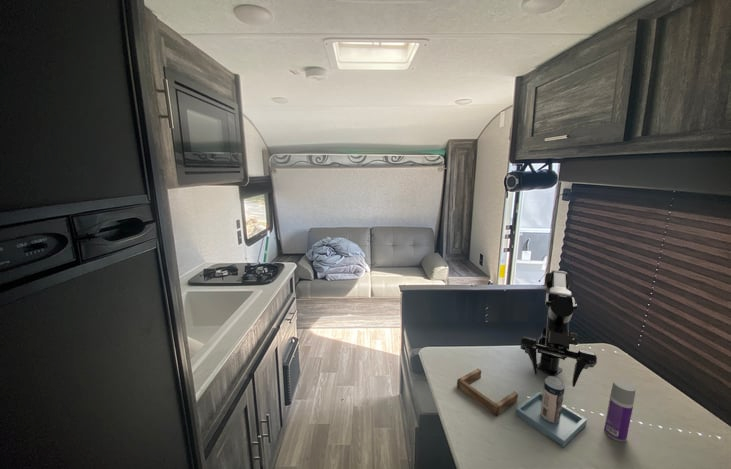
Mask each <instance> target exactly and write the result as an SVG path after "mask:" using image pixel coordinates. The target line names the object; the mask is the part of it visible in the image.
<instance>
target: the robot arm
mask: <svg viewBox="0 0 731 469" xmlns="http://www.w3.org/2000/svg"><path fill="white" fill-rule="evenodd" d="M544 276H545V277H544V281H543V282H544V283H543V284H544V286H545V292H546V295H545V301H544V302H545V303H544V304H545V307H547V308H548V312H547V319H546V327H544V328H543V330H542V332H541V336H539V337H538V340H537V338H534V337H530V336H529V337H528V336H525V335H523V336H522V337H521V340H520V350H523V351H524V353H525V354H527V355H528V357H529V359H530V361H531V366H532V368H533V369H532V370H533V373H534V376H536V377H537V374H538V369H539V370H540V371H542V372H545V373H546V374H548V375H549V376H555V377H556V375H558V374H559V373H561V372H563V368H561V367H559V366H560V360H563V361H566V359H572V360H576V362H575V364H574V369H573V375H572V381H571V382H572V387H573V388H574V387H576V384H577V382H578V380H579V377H580V376H581V373H582V371H583V370H584V369H585V370H588V369H589V368H594V367H595V366H596V365H597V362H598V361H597V359H598V358H597V355H596V354H595V353H594V352H590V351H587V350H583V349H579V350H578V351H577V352H576V351H571V350H570V345H573V346H578V339H579V338H578V337H579V334H578V333H575V332H574V333H573V332H569V327H570V326H569V325H570V322H571V319H572V316H573V313H574V311H575V310H577V309H578V304H577V301H576V300H575V297H573V293H572V291H571V290H570V289H571V288H570V287H571V281H572V280H571V277H570V276H569V275H568V271H567V272H566V271H563V270H556V269H555V270H551V272H548V273H546V274H545V275H544ZM537 354H540V360H539V363H537V362H538V360H537V356H538V355H537Z"/></svg>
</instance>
